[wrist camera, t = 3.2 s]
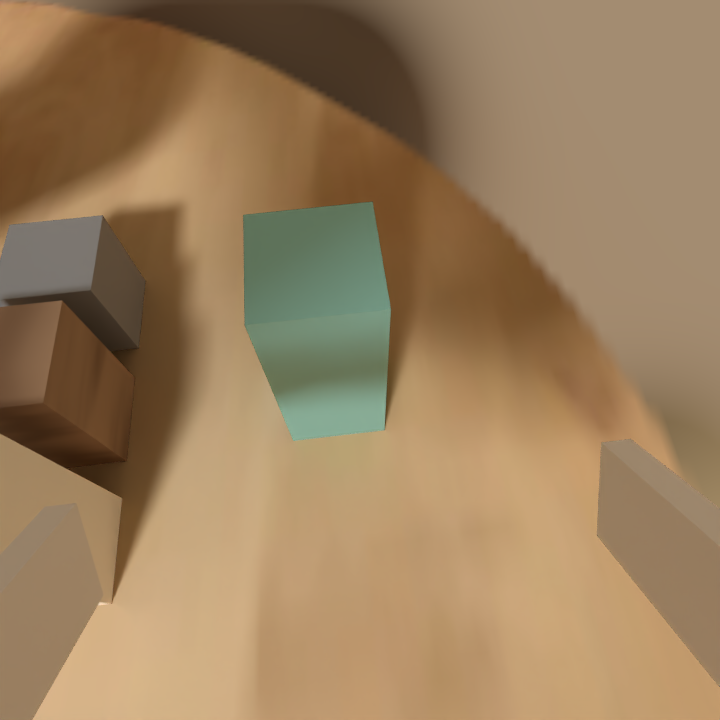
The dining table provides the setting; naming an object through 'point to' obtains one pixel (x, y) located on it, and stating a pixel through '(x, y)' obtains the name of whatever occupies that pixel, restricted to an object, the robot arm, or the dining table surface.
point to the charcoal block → (76, 275)
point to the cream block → (57, 487)
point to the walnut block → (62, 387)
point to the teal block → (319, 316)
